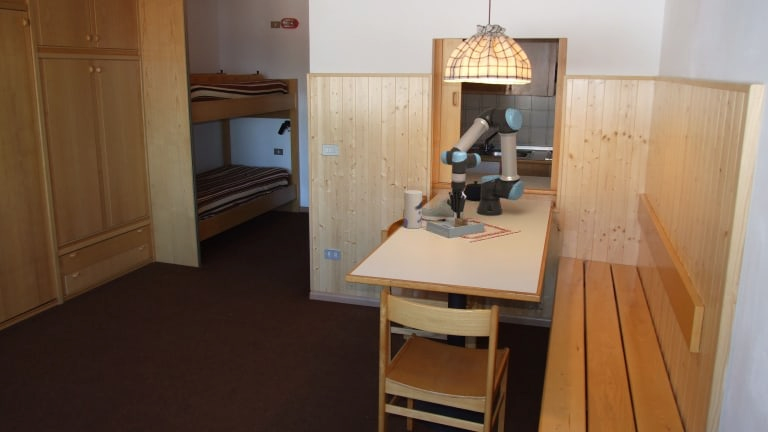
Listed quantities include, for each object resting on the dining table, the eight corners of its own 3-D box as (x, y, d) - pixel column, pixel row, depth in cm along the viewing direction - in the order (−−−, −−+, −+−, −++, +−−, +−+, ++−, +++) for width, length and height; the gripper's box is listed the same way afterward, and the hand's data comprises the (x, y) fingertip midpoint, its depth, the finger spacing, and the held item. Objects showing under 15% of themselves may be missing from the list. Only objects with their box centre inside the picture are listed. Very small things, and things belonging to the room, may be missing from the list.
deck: (460, 224, 375) (460, 215, 374) (483, 231, 359) (484, 223, 358) (426, 229, 362) (426, 221, 361) (449, 238, 346) (449, 229, 345)
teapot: (454, 200, 438) (455, 181, 435) (461, 195, 452) (462, 177, 449) (491, 203, 429) (492, 184, 426) (497, 198, 443) (498, 180, 440)
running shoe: (420, 215, 396) (421, 193, 392) (468, 221, 383) (469, 198, 380) (413, 219, 386) (414, 196, 383) (461, 225, 373) (462, 201, 370)
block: (461, 226, 359) (462, 217, 358) (467, 228, 355) (467, 219, 354) (454, 227, 356) (454, 218, 355) (460, 229, 352) (460, 220, 351)
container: (420, 229, 364) (421, 193, 359) (402, 228, 366) (402, 192, 361) (422, 224, 373) (423, 190, 369) (405, 223, 375) (406, 189, 370)
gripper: (471, 182, 349) (469, 225, 354) (456, 178, 359) (454, 220, 365) (460, 183, 345) (458, 227, 350) (445, 179, 355) (443, 222, 361)
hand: (456, 223), depth 358 cm, fingers closed
